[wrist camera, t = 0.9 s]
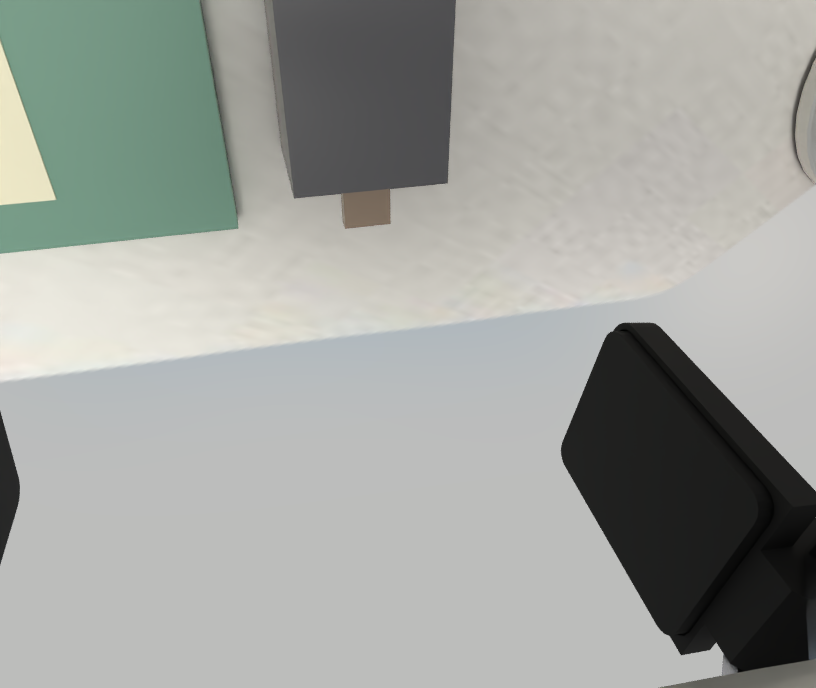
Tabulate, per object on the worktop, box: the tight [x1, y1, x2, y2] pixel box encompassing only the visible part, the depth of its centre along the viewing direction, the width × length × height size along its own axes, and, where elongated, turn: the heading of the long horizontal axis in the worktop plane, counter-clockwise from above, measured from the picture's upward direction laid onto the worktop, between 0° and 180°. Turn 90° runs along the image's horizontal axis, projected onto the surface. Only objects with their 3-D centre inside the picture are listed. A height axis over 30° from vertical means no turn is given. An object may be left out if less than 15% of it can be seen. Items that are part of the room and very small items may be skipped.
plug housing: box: [264, 0, 456, 229], centre depth 24 cm, size 6×8×5 cm, turn 0°
